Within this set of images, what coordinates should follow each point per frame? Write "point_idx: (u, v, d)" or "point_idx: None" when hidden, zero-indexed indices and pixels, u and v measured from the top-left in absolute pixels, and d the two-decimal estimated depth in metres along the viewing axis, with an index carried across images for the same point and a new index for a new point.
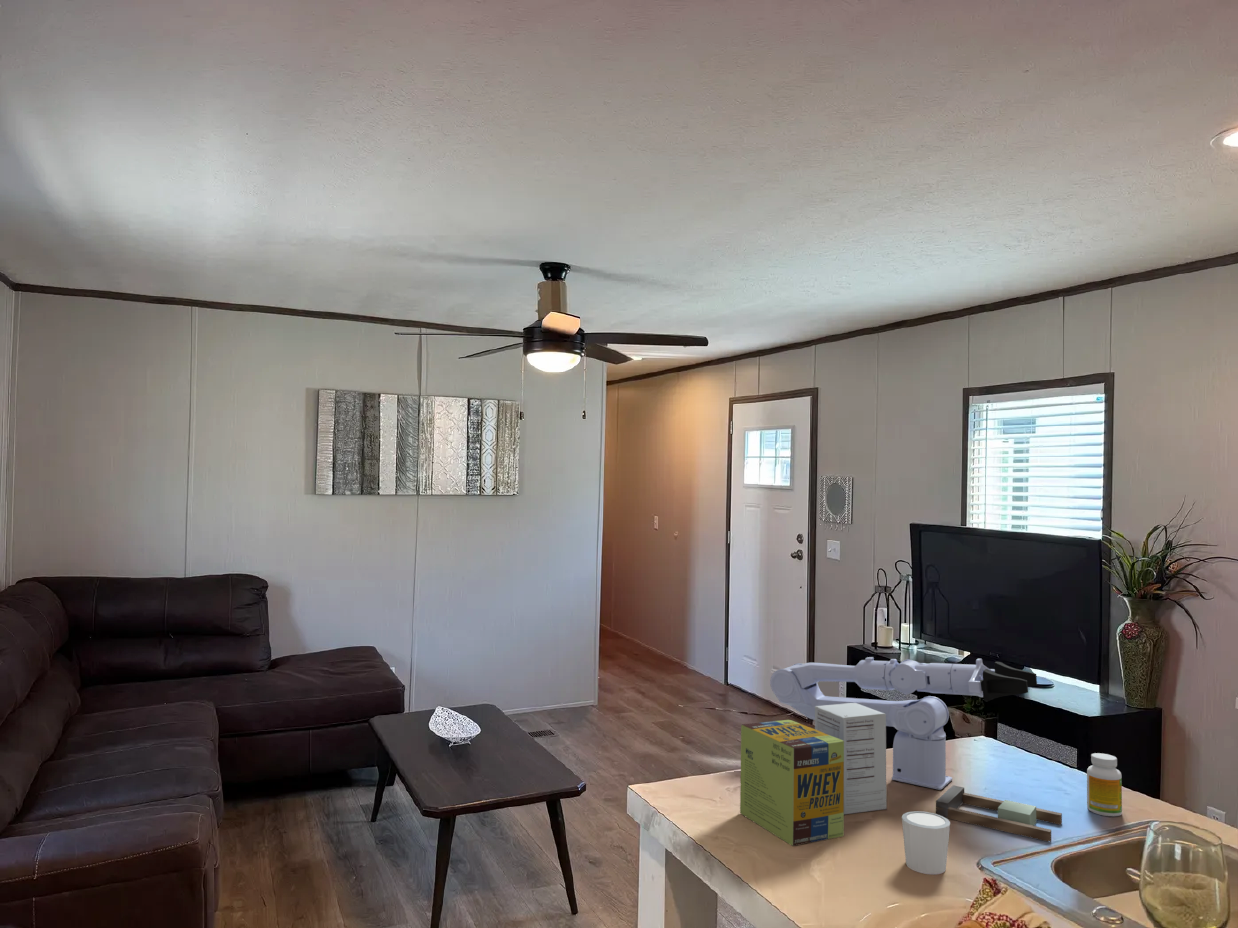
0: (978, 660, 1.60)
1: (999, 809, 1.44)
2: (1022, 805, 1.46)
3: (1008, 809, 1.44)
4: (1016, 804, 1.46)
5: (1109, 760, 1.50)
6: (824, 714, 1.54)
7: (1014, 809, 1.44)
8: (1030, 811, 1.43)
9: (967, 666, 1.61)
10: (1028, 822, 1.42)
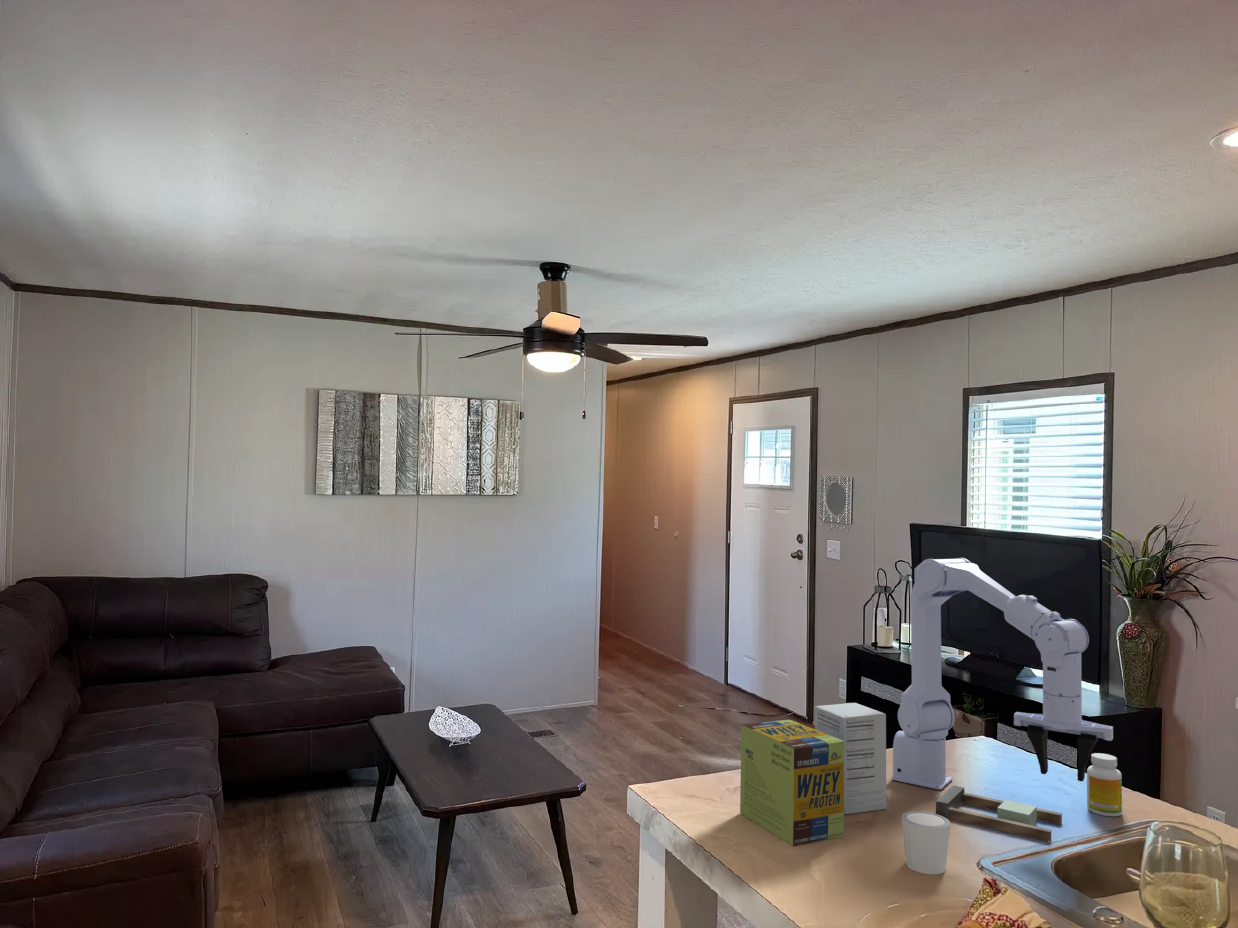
0: (1052, 726, 1.39)
1: (999, 809, 1.45)
2: (1022, 805, 1.46)
3: (1008, 809, 1.44)
4: (1016, 804, 1.46)
5: (1109, 760, 1.50)
6: (824, 714, 1.54)
7: (1014, 809, 1.44)
8: (1030, 811, 1.43)
9: (1053, 712, 1.40)
10: (1027, 822, 1.42)
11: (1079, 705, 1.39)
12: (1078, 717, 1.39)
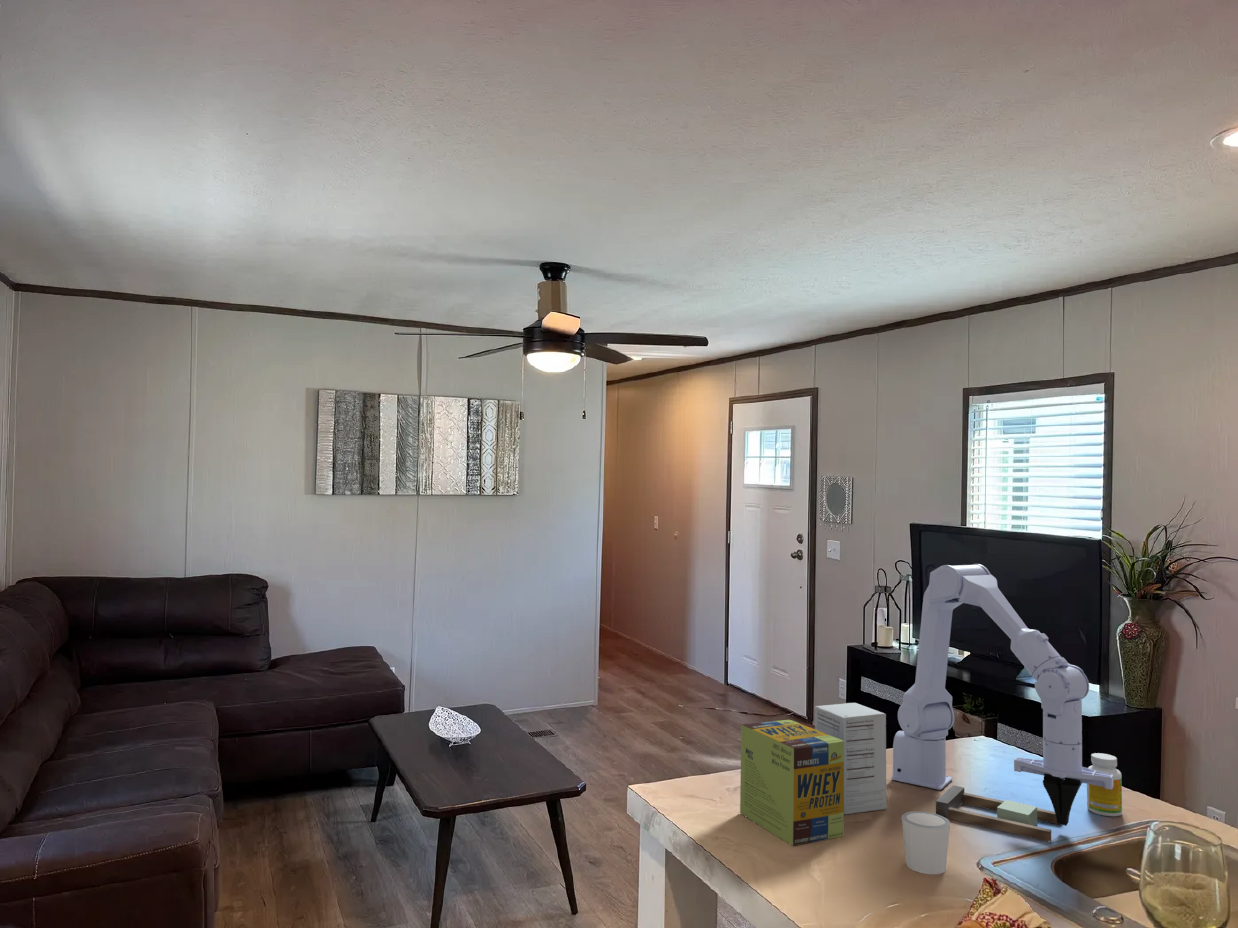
0: (1052, 774, 1.39)
1: (998, 809, 1.45)
2: (1022, 806, 1.46)
3: (1008, 809, 1.44)
4: (1016, 804, 1.46)
5: (1109, 760, 1.50)
6: (824, 714, 1.54)
7: (1014, 809, 1.44)
8: (1030, 811, 1.43)
9: (1053, 760, 1.40)
10: (1027, 822, 1.42)
11: (1080, 753, 1.39)
12: (1078, 765, 1.39)
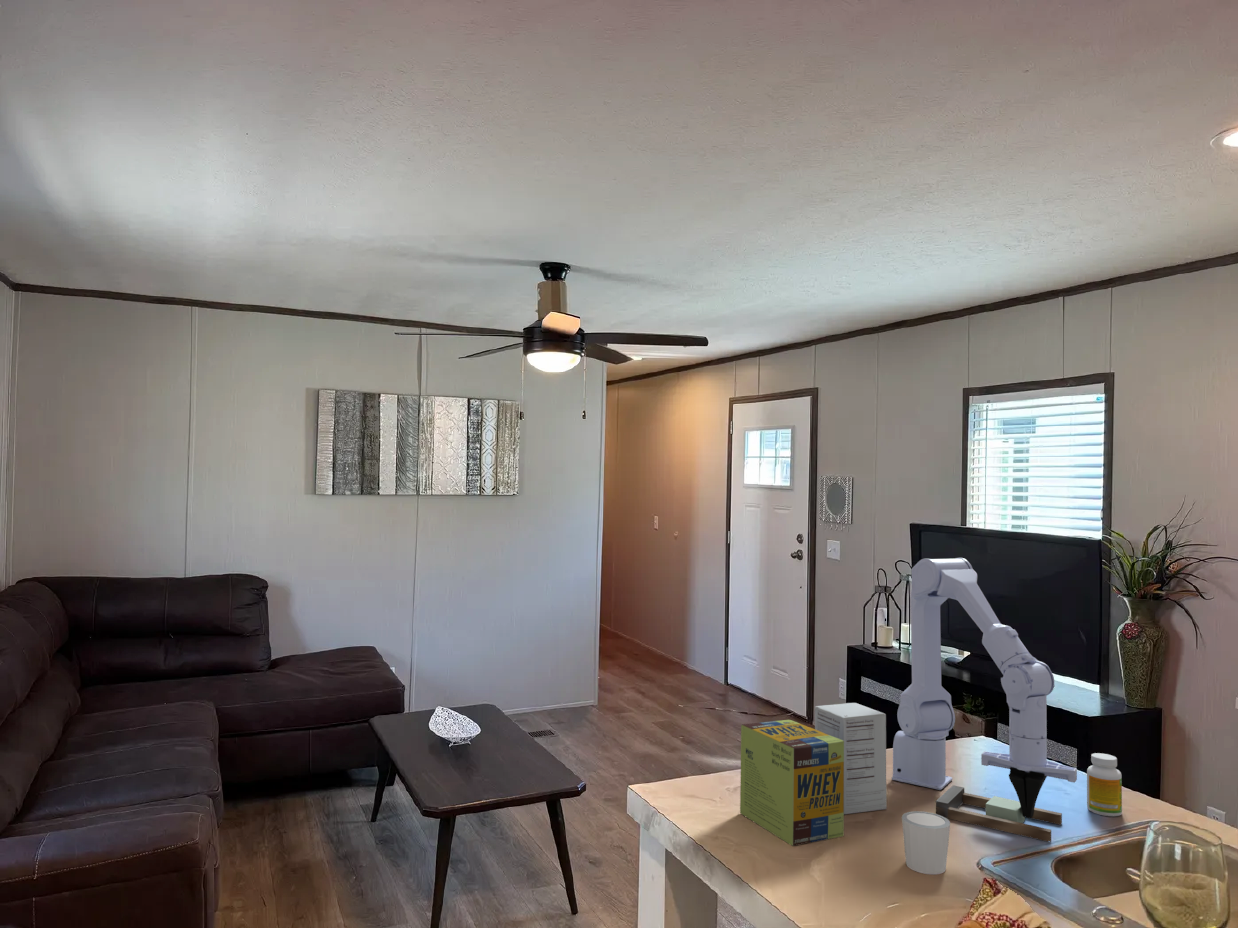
0: (1017, 767, 1.42)
1: (987, 805, 1.46)
2: (1010, 802, 1.47)
3: (996, 805, 1.45)
4: (1004, 800, 1.47)
5: (1109, 760, 1.50)
6: (824, 714, 1.54)
7: (1002, 805, 1.45)
8: (1018, 807, 1.44)
9: (1018, 754, 1.43)
10: (1015, 818, 1.43)
11: (1044, 747, 1.42)
12: (1043, 759, 1.42)
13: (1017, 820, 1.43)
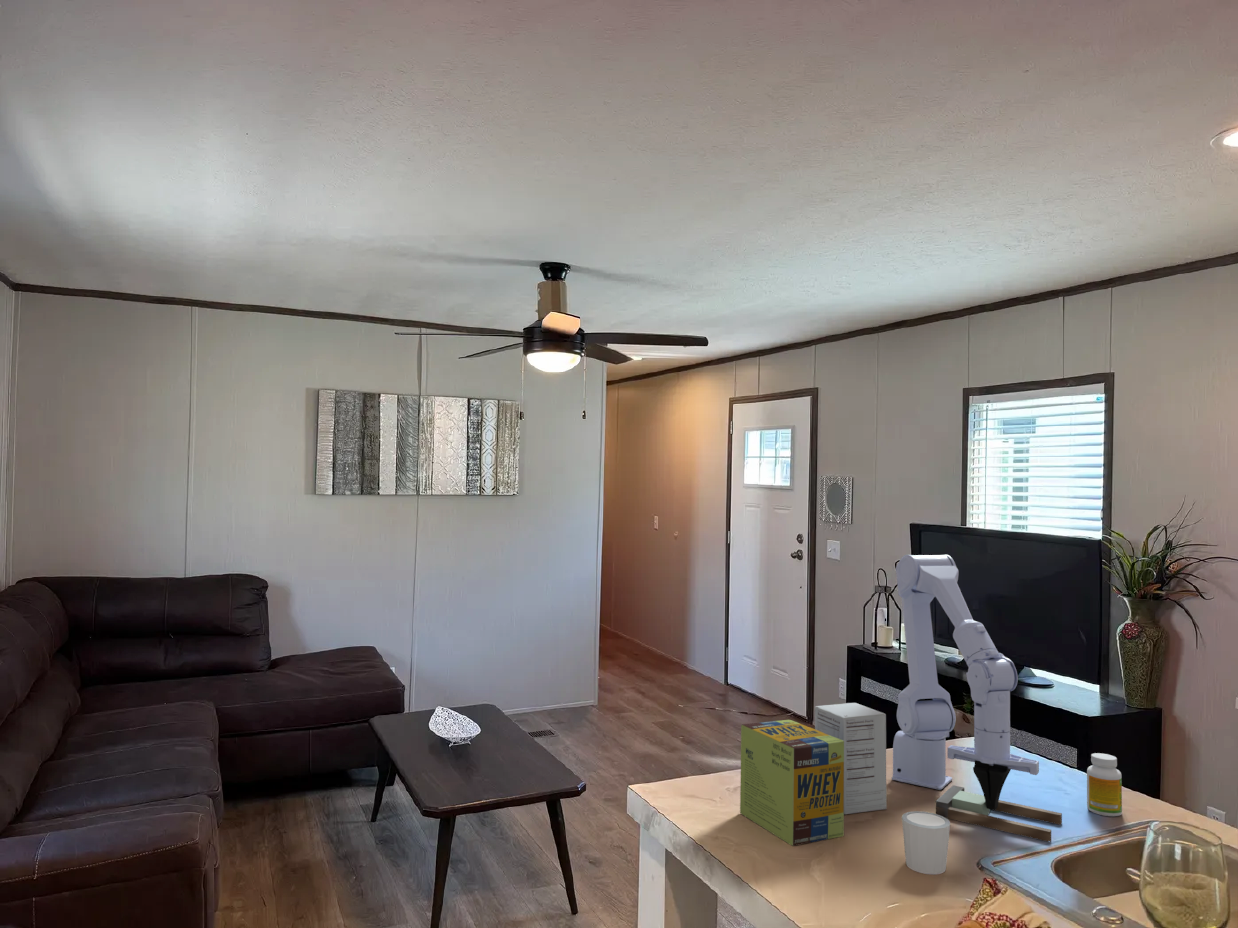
0: (981, 760, 1.45)
1: (953, 799, 1.49)
2: (976, 796, 1.50)
3: (962, 799, 1.48)
4: (970, 794, 1.51)
5: (1109, 760, 1.50)
6: (824, 714, 1.54)
7: (968, 800, 1.48)
8: (983, 801, 1.48)
9: (982, 747, 1.46)
10: (981, 812, 1.46)
11: (1007, 740, 1.46)
12: (1006, 752, 1.45)
13: None
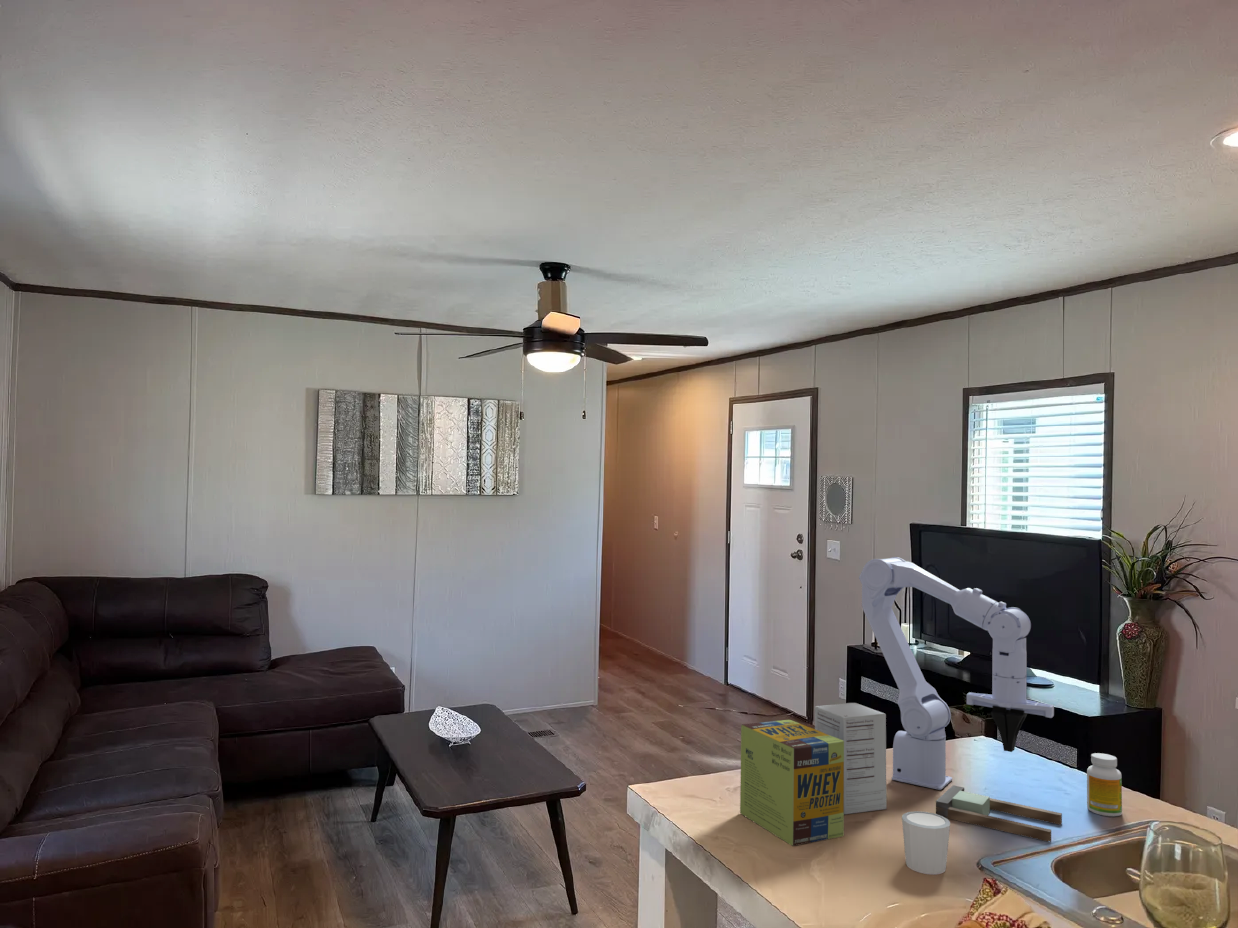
0: (998, 704, 1.53)
1: (953, 799, 1.49)
2: (976, 796, 1.50)
3: (962, 800, 1.48)
4: (970, 794, 1.51)
5: (1109, 760, 1.50)
6: (824, 714, 1.54)
7: (968, 800, 1.48)
8: (983, 801, 1.47)
9: (1000, 692, 1.54)
10: (981, 812, 1.46)
11: (1024, 686, 1.54)
12: (1022, 697, 1.53)
13: (983, 814, 1.46)
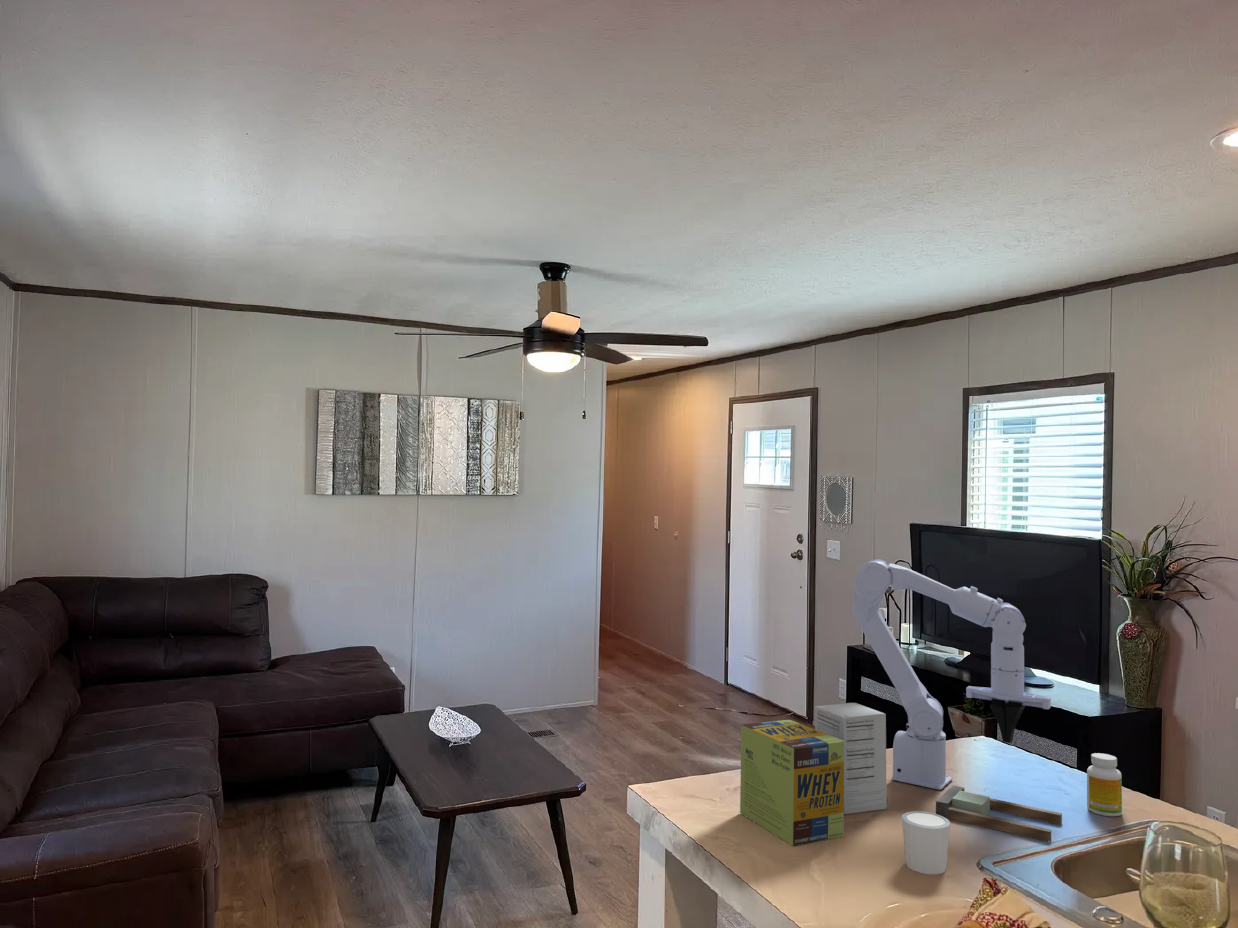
0: (997, 697, 1.59)
1: (953, 799, 1.49)
2: (976, 796, 1.50)
3: (962, 800, 1.48)
4: (970, 794, 1.51)
5: (1109, 760, 1.50)
6: (823, 714, 1.54)
7: (968, 800, 1.48)
8: (983, 801, 1.47)
9: (999, 685, 1.60)
10: (981, 812, 1.46)
11: (1022, 679, 1.59)
12: (1020, 689, 1.59)
13: (983, 814, 1.46)
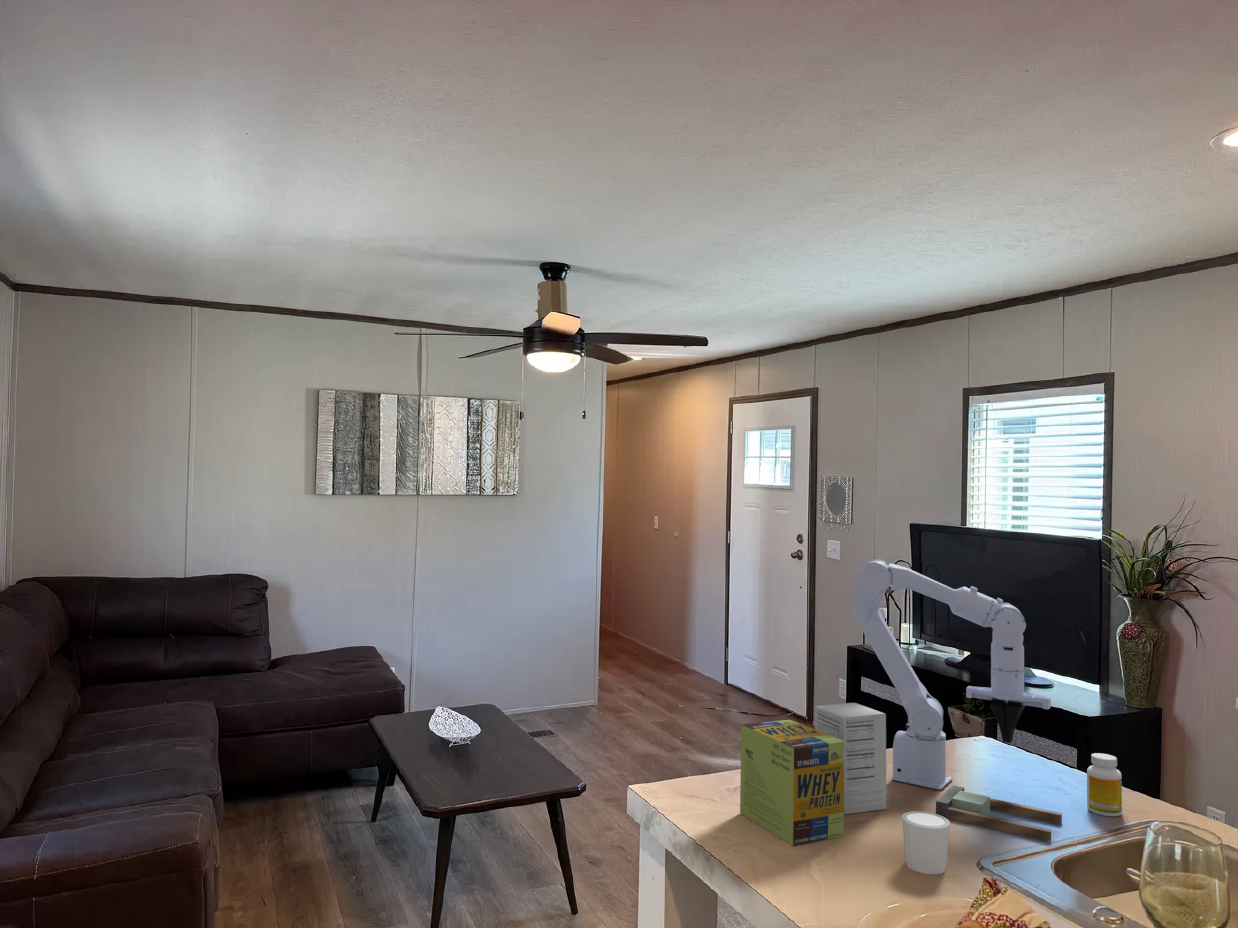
0: (997, 697, 1.59)
1: (953, 799, 1.49)
2: (976, 796, 1.50)
3: (962, 799, 1.48)
4: (970, 794, 1.51)
5: (1109, 760, 1.50)
6: (824, 714, 1.54)
7: (968, 800, 1.48)
8: (983, 801, 1.47)
9: (999, 685, 1.60)
10: (980, 812, 1.46)
11: (1022, 679, 1.59)
12: (1020, 689, 1.59)
13: None
